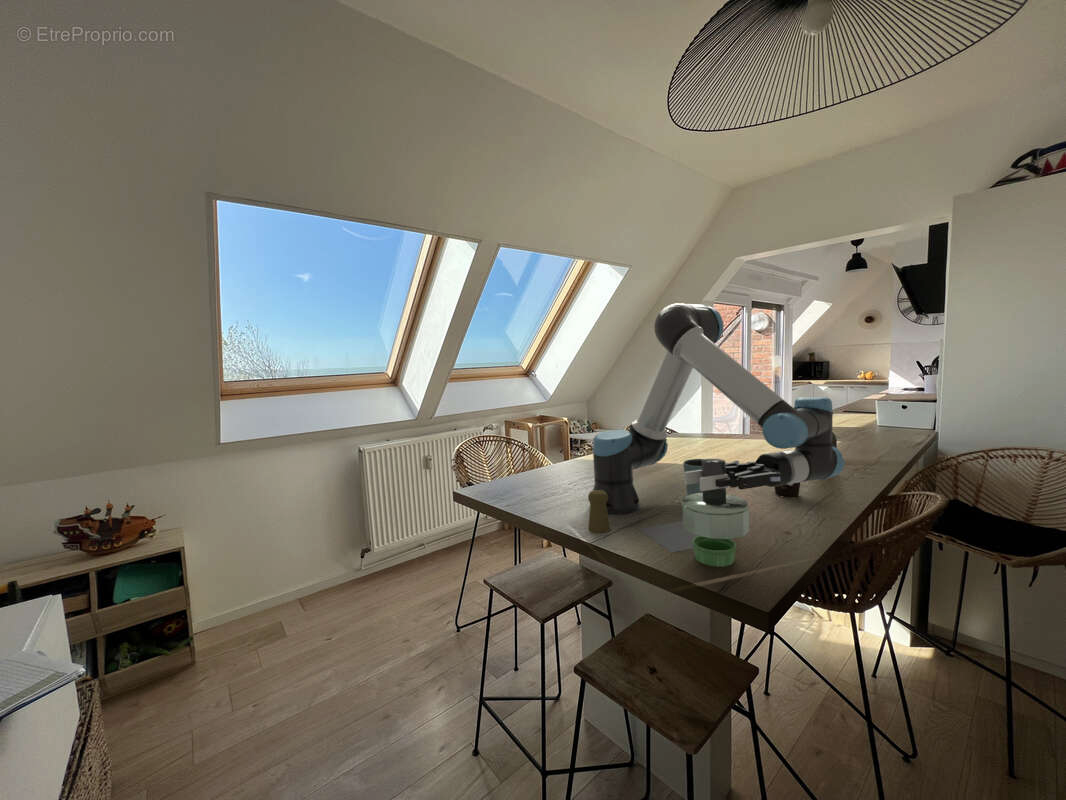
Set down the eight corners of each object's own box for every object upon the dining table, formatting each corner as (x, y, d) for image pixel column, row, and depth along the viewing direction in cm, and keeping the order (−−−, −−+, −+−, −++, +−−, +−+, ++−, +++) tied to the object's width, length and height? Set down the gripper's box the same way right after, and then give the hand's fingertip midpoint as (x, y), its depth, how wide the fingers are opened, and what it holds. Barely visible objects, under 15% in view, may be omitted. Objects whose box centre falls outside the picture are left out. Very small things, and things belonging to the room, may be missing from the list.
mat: (636, 531, 119) (636, 528, 119) (688, 522, 124) (688, 519, 124) (671, 555, 104) (671, 552, 104) (729, 543, 108) (729, 541, 108)
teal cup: (725, 502, 138) (724, 463, 137) (696, 506, 136) (695, 467, 135) (705, 493, 148) (704, 457, 147) (677, 496, 146) (676, 460, 145)
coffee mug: (807, 499, 137) (807, 466, 136) (776, 498, 139) (776, 467, 138) (793, 488, 148) (793, 458, 148) (765, 487, 150) (764, 458, 149)
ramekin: (687, 553, 105) (687, 535, 104) (726, 552, 104) (726, 533, 104) (700, 571, 96) (700, 551, 95) (743, 569, 95) (743, 549, 95)
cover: (671, 521, 104) (669, 458, 102) (720, 513, 107) (718, 452, 106) (709, 542, 91) (707, 471, 90) (762, 532, 95) (761, 463, 93)
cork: (585, 527, 123) (584, 488, 122) (607, 526, 124) (606, 487, 123) (590, 536, 117) (588, 495, 116) (613, 534, 118) (611, 493, 117)
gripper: (814, 494, 95) (721, 510, 89) (751, 475, 112) (669, 488, 106) (814, 459, 94) (720, 473, 88) (751, 446, 111) (668, 456, 105)
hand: (692, 481), depth 97 cm, fingers closed on cover, 5 cm apart
